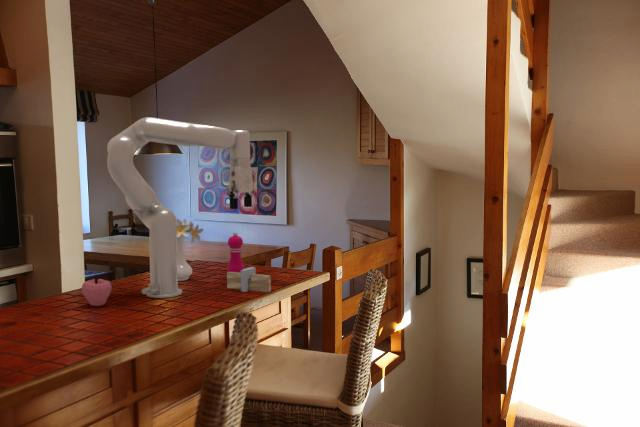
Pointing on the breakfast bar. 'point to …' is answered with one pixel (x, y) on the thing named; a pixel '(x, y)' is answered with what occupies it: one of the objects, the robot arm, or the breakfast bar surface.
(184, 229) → the flower vase
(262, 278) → the beige notched bar
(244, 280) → the notched plate
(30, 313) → the breakfast bar surface
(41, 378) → the breakfast bar surface
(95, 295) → the apple
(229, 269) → the pepper mill
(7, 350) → the breakfast bar surface
